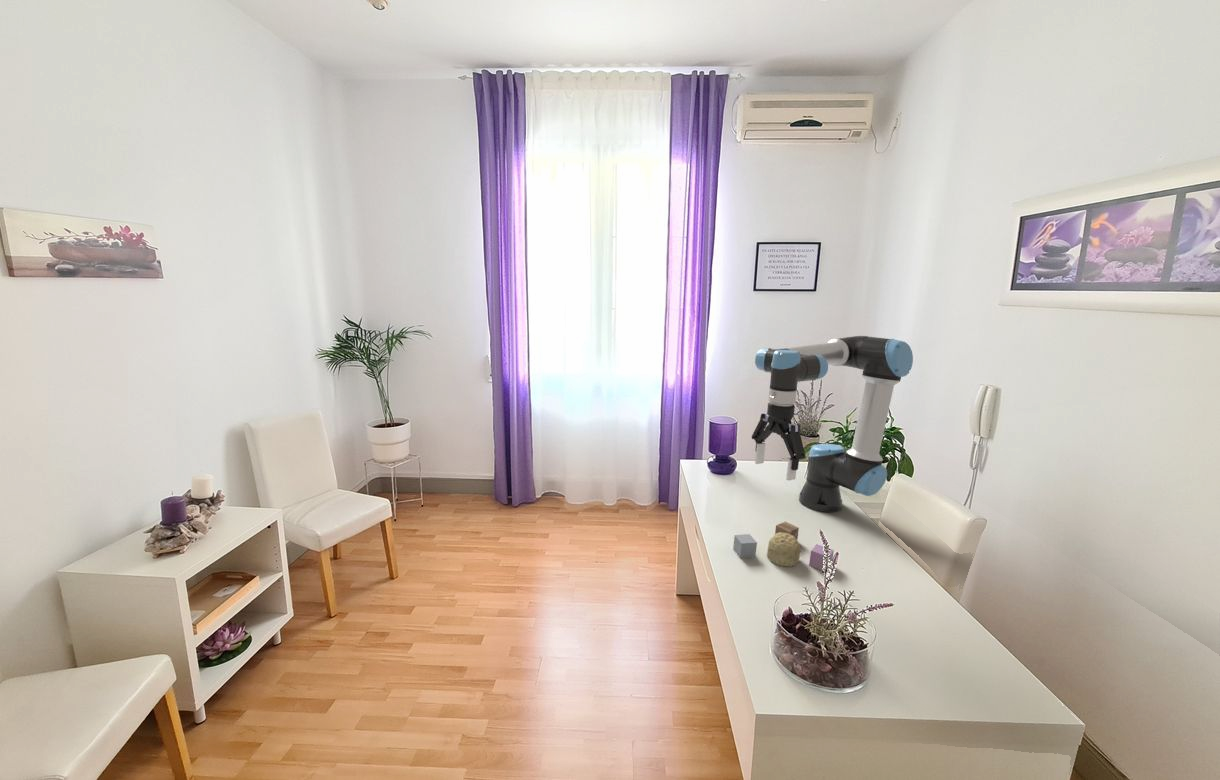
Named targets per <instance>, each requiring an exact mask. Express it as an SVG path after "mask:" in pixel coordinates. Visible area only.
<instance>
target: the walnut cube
mask: <svg viewBox="0 0 1220 780" xmlns="http://www.w3.org/2000/svg"><path fill="white" fill-rule="evenodd" d="M799 529H800V527H798V526H796V525H794V524H792V523H790V522H788V521H784V522H780V523H778V524H776V525H775V532H774V535H775V534H776V533H779V532H782V533H788V534H791V535H793V536H794V537H795V538H796V539H797V540H799V539H798V538H799V537H798V536H799Z"/></svg>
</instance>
